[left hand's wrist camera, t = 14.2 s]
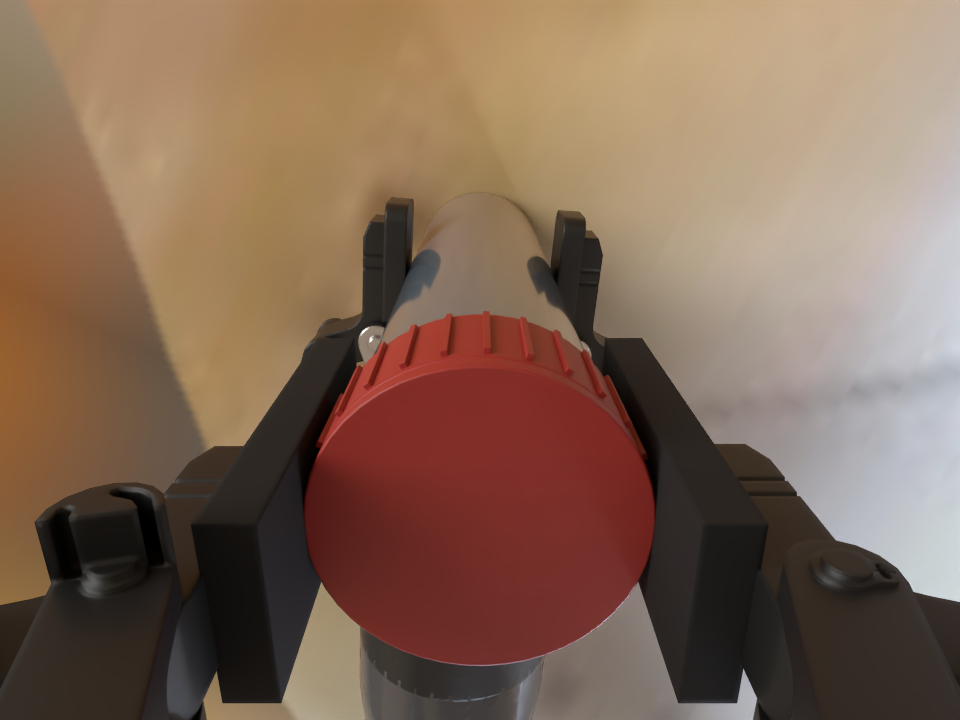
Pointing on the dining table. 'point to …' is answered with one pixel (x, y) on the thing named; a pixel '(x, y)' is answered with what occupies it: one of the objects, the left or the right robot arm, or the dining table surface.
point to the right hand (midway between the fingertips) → (484, 210)
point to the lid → (479, 493)
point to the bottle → (480, 270)
